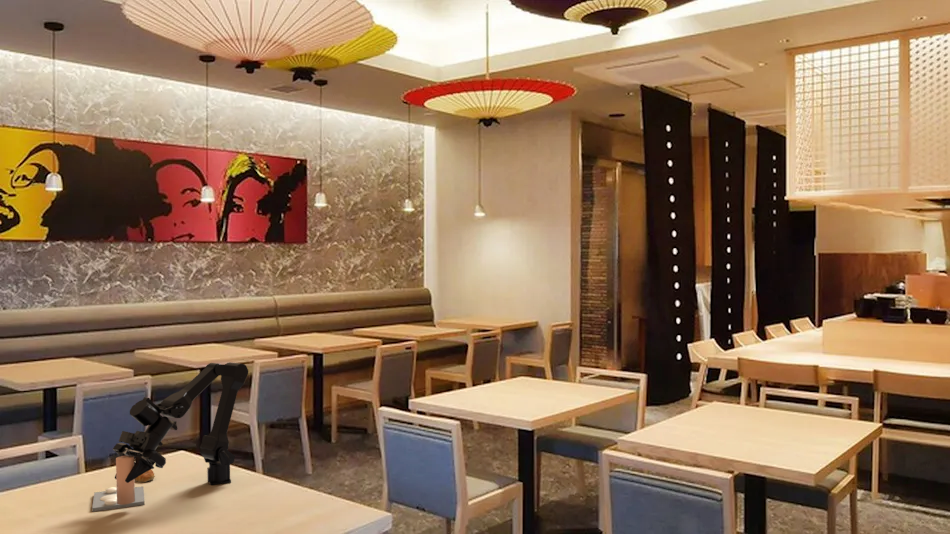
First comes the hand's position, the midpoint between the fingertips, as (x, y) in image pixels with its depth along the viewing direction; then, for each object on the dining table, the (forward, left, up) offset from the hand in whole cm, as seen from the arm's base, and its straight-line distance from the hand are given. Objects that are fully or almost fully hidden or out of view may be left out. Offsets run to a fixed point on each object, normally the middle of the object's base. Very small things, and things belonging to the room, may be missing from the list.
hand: (121, 480), depth 221 cm
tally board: (+1, -13, -9) cm, 16 cm away
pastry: (-6, -34, -10) cm, 36 cm away
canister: (-1, -1, -7) cm, 7 cm away
